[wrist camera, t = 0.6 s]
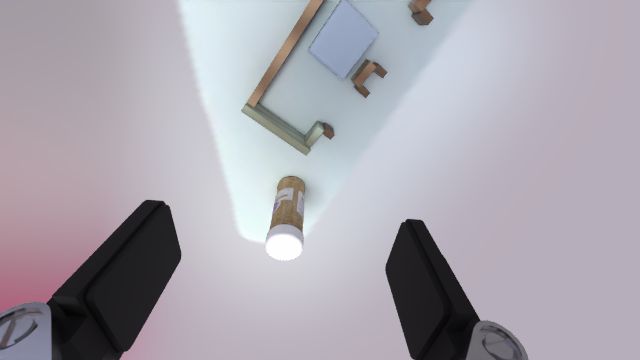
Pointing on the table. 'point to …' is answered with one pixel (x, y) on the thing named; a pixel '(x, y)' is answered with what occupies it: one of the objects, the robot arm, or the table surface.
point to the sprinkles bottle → (287, 221)
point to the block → (343, 39)
